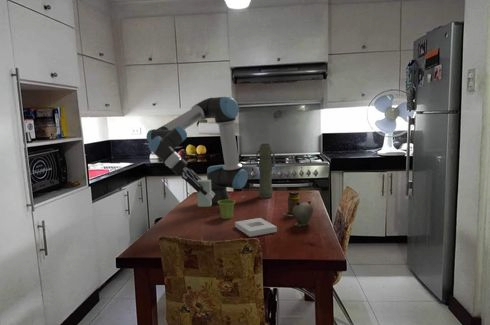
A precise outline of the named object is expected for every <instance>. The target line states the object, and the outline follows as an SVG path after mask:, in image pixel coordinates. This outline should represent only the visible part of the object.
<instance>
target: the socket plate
mask: <svg viewBox="0 0 490 325" xmlns="http://www.w3.org/2000/svg"><path fill="white" fill-rule="evenodd" d="M234 226H235V228H236V229H237V230H239V231H241V232H243V234H245V235H247V236H248V237H251V238H252V237H256V236H261V235H267V234H271V233H277V232H278V227H277V225H274V224H272V223H271V222H269V221H268V220H265V219H263V218H261V217H258V218H251V219H245V220H239V221H235V222H234Z"/></svg>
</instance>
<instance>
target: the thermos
mask: <svg viewBox="0 0 490 325" xmlns="http://www.w3.org/2000/svg"><path fill="white" fill-rule="evenodd" d="M255 154H256V157H255V158H256V164H255V165H256V168H258V171H259V187H258V197H259V198H261V199H271V198H273V186H272V184H273V183H272V180H273V178H272V171H273V168H274V167H275V155H276V154H275V152H274V151H273V150H272V147H271V144H269V143H261V144H260V146H259V150H257V151H256V153H255ZM258 154H259V156H258ZM258 159H259V160H258Z"/></svg>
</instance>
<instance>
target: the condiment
mask: <svg viewBox="0 0 490 325" xmlns="http://www.w3.org/2000/svg"><path fill="white" fill-rule="evenodd" d="M287 199H288V200H287V209H288V210H287V211H286V212H282V214H283V215H286V216H289V217H294V216H293V208H294V207H295V206H296V203H297V202H298V203H300V194H299V192H298V191H295V190H293V191H292V190H290V191H289V192H288V197H287Z"/></svg>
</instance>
